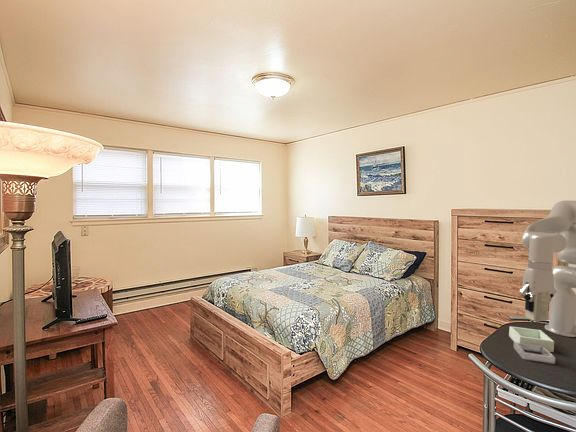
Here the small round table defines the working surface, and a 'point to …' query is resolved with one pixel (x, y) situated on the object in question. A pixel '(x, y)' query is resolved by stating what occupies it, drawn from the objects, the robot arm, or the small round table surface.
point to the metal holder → (546, 356)
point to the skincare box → (539, 306)
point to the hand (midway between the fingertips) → (536, 309)
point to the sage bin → (531, 337)
